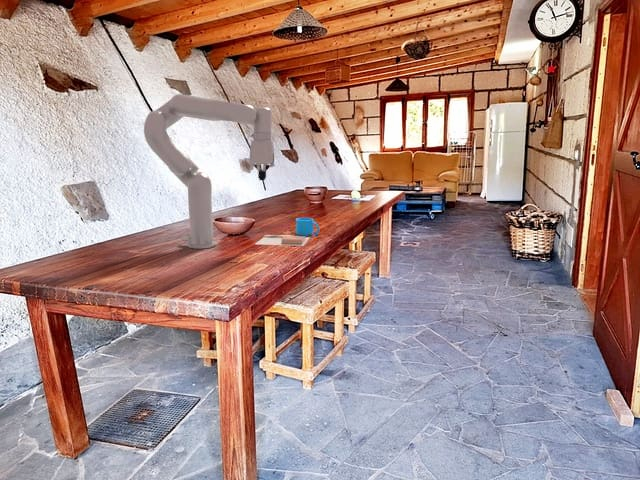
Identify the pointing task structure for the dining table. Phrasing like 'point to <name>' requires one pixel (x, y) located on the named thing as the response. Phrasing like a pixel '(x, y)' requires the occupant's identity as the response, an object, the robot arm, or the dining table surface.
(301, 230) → the mug
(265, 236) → the turner
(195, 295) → the dining table surface
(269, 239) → the board
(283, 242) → the tile
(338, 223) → the dining table surface
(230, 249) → the dining table surface
